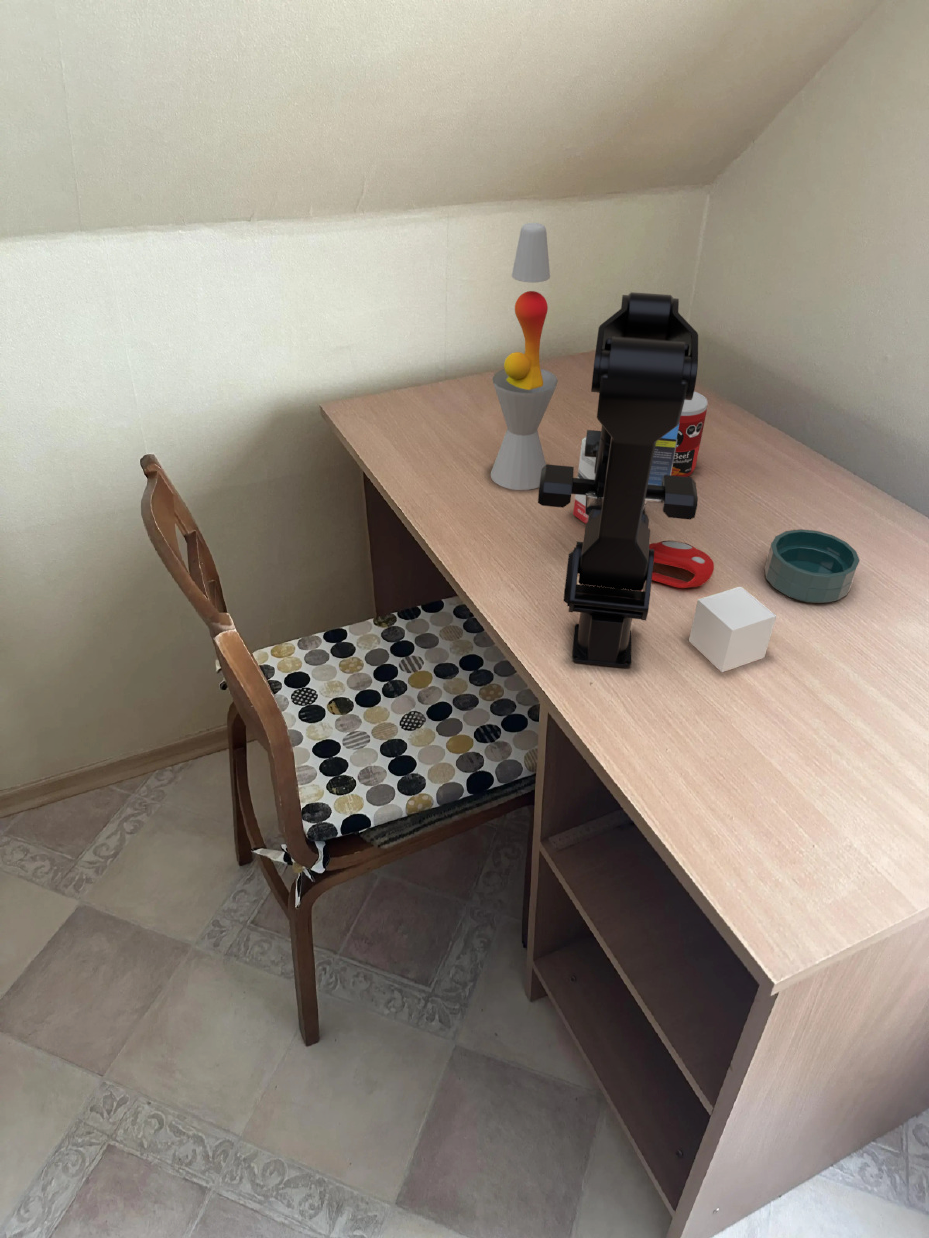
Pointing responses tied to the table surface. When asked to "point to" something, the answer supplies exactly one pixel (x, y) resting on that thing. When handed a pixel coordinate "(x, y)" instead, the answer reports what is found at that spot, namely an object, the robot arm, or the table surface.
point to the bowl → (811, 566)
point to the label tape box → (663, 457)
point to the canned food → (689, 435)
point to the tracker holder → (682, 563)
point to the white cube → (731, 628)
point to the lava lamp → (525, 372)
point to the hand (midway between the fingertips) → (607, 549)
